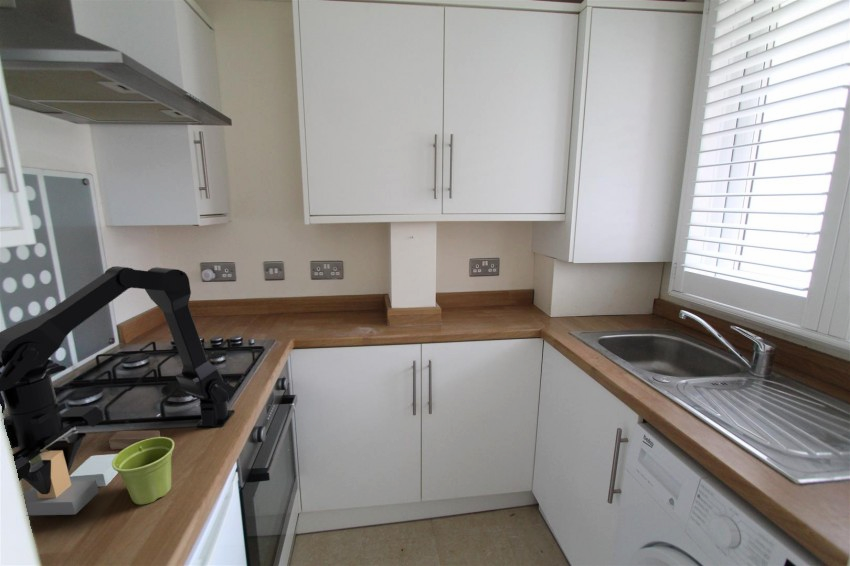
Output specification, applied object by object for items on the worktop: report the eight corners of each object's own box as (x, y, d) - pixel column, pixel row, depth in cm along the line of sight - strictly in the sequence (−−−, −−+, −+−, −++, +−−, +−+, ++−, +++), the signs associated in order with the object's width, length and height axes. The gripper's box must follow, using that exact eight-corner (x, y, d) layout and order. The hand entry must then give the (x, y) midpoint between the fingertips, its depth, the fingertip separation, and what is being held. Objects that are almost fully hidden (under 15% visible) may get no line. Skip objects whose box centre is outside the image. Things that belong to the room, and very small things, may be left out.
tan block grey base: (42, 493, 71) (30, 447, 69) (98, 492, 71) (87, 446, 69) (15, 515, 66) (0, 467, 64) (75, 514, 66) (62, 465, 64)
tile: (94, 468, 80) (91, 455, 80) (125, 466, 81) (123, 453, 80) (72, 490, 75) (68, 476, 74) (106, 487, 75) (103, 473, 75)
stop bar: (121, 440, 89) (119, 431, 88) (161, 440, 89) (159, 430, 88) (110, 449, 86) (108, 439, 85) (152, 448, 86) (150, 438, 85)
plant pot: (109, 516, 68) (99, 473, 66) (137, 478, 77) (129, 439, 75) (168, 508, 70) (160, 466, 68) (189, 472, 79) (182, 434, 77)
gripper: (36, 379, 73) (55, 452, 77) (-90, 441, 55) (-57, 533, 59) (97, 378, 73) (113, 450, 77) (-9, 440, 55) (19, 531, 59)
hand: (54, 486), depth 68 cm, fingers closed on tan block grey base, 3 cm apart
